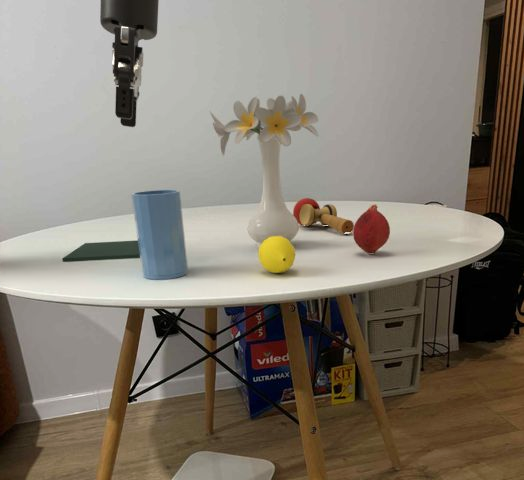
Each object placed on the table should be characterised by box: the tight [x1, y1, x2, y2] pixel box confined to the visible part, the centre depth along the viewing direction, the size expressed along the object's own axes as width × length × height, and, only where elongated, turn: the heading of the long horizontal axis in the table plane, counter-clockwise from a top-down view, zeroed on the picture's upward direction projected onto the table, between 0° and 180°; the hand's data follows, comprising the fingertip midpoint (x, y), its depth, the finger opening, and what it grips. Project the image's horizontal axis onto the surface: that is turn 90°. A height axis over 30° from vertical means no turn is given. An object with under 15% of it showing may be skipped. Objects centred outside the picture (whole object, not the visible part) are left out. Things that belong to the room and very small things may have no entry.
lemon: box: [257, 236, 296, 274], centre depth 73 cm, size 7×5×5 cm
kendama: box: [292, 197, 355, 234], centre depth 106 cm, size 8×6×18 cm
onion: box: [352, 203, 391, 254], centre depth 81 cm, size 6×6×8 cm
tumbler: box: [130, 189, 189, 281], centre depth 74 cm, size 7×7×12 cm
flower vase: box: [209, 93, 319, 249], centre depth 87 cm, size 13×18×25 cm
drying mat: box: [62, 239, 140, 262], centre depth 95 cm, size 18×14×1 cm
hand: (126, 122), depth 72 cm, fingers open, 8 cm apart
